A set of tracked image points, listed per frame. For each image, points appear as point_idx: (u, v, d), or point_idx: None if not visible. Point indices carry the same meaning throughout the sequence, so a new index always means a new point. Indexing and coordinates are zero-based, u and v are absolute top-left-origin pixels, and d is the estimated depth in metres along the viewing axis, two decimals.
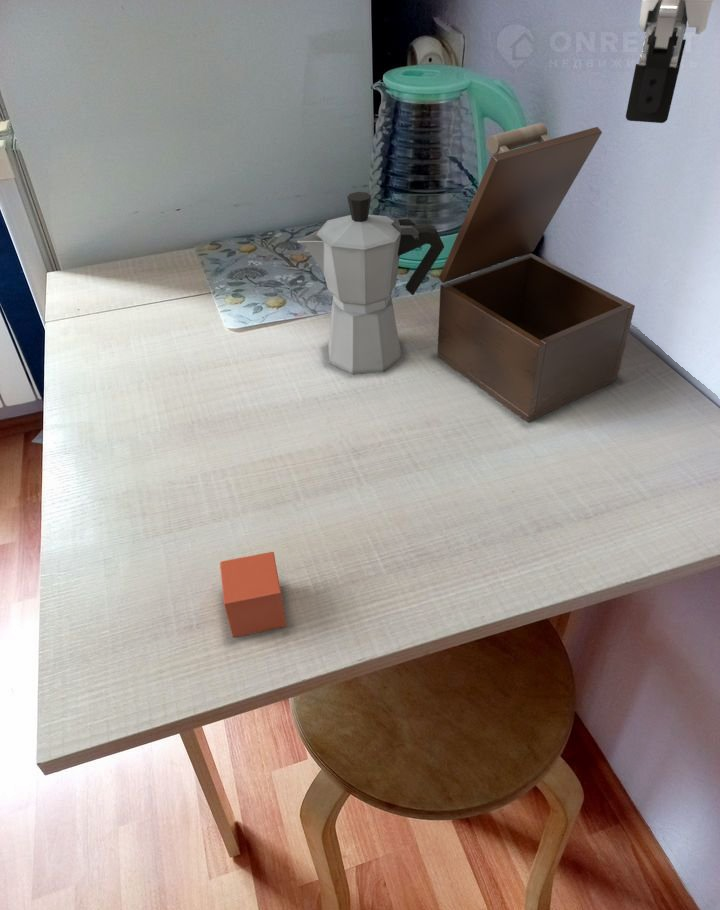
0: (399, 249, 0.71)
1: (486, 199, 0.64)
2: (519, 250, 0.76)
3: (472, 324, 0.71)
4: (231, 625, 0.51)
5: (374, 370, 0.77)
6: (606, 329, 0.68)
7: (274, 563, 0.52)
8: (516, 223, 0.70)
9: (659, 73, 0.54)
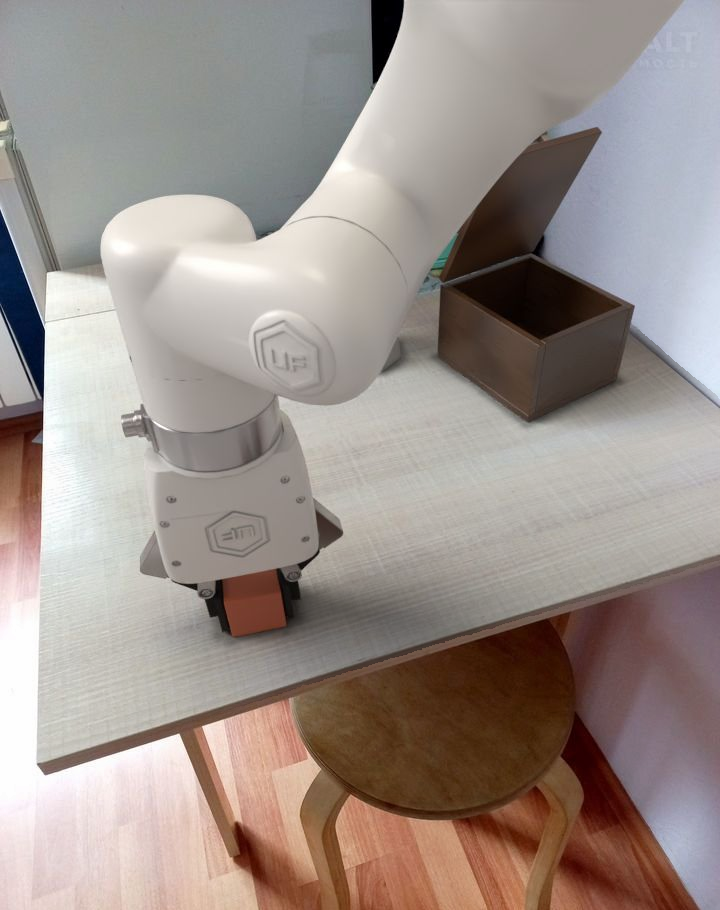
0: None
1: (486, 199, 0.64)
2: (519, 250, 0.76)
3: (472, 324, 0.71)
4: (231, 625, 0.51)
5: None
6: (606, 329, 0.68)
7: None
8: (516, 223, 0.70)
9: None
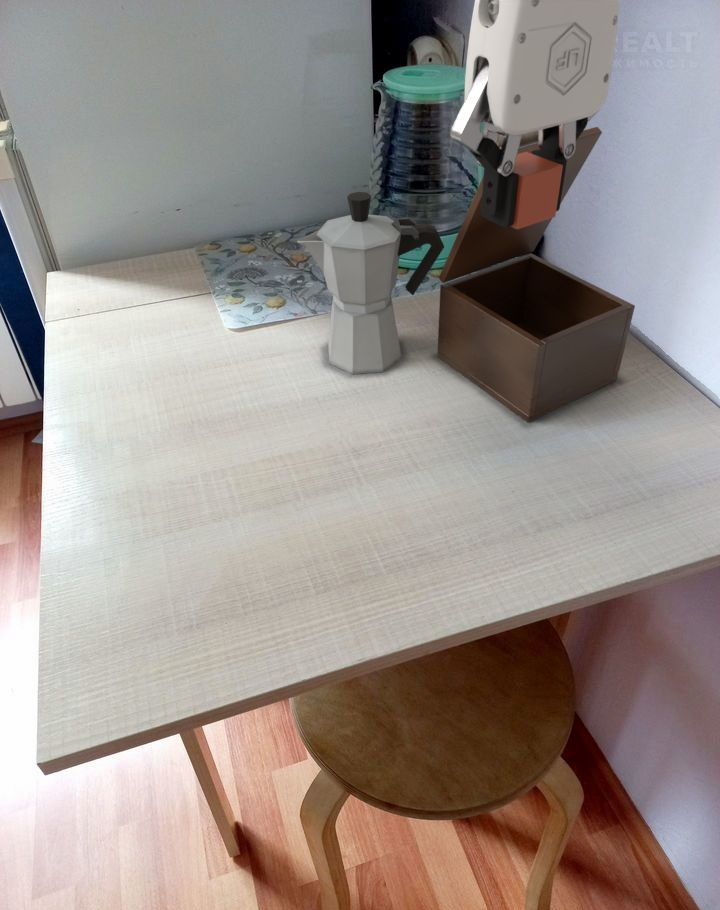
0: (399, 249, 0.71)
1: None
2: (519, 250, 0.76)
3: (472, 324, 0.71)
4: (520, 210, 0.53)
5: (374, 370, 0.77)
6: (606, 329, 0.68)
7: None
8: None
9: (493, 177, 0.52)
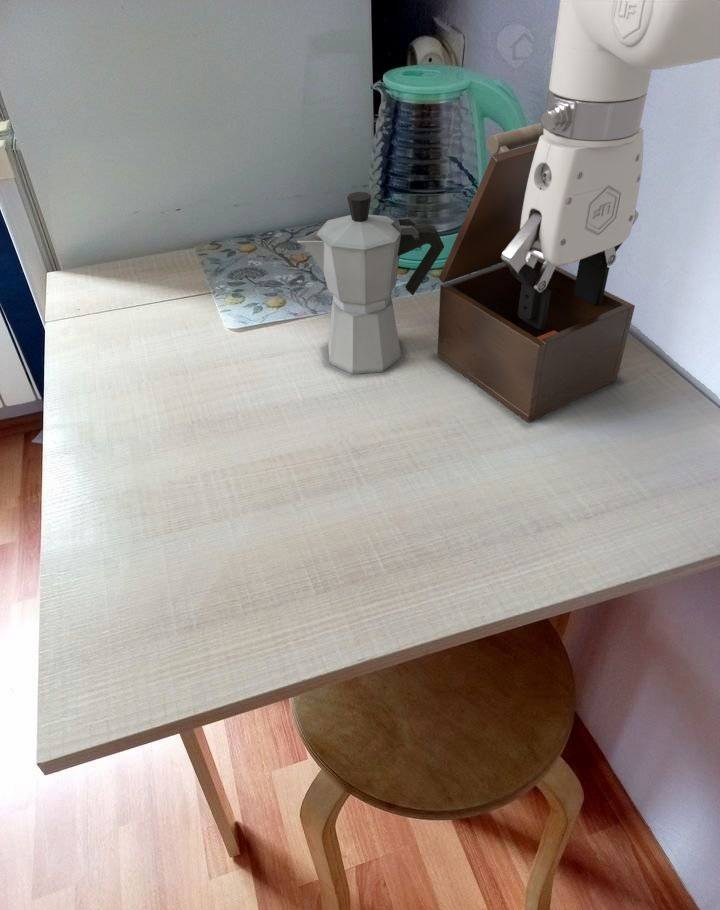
0: (399, 249, 0.71)
1: (486, 199, 0.64)
2: None
3: (472, 324, 0.71)
4: None
5: (374, 370, 0.77)
6: (606, 329, 0.68)
7: None
8: (516, 223, 0.70)
9: (530, 292, 0.64)
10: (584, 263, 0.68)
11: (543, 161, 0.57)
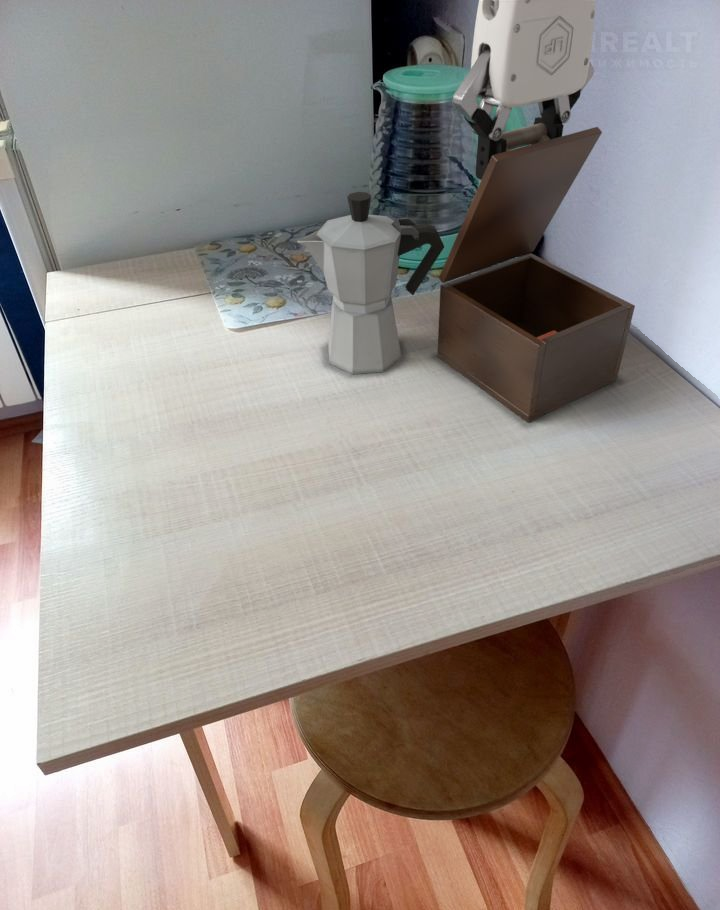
0: (399, 249, 0.71)
1: (486, 199, 0.64)
2: (519, 250, 0.76)
3: (472, 324, 0.71)
4: None
5: (374, 370, 0.77)
6: (606, 329, 0.68)
7: None
8: (516, 223, 0.70)
9: (485, 143, 0.62)
10: None
11: None
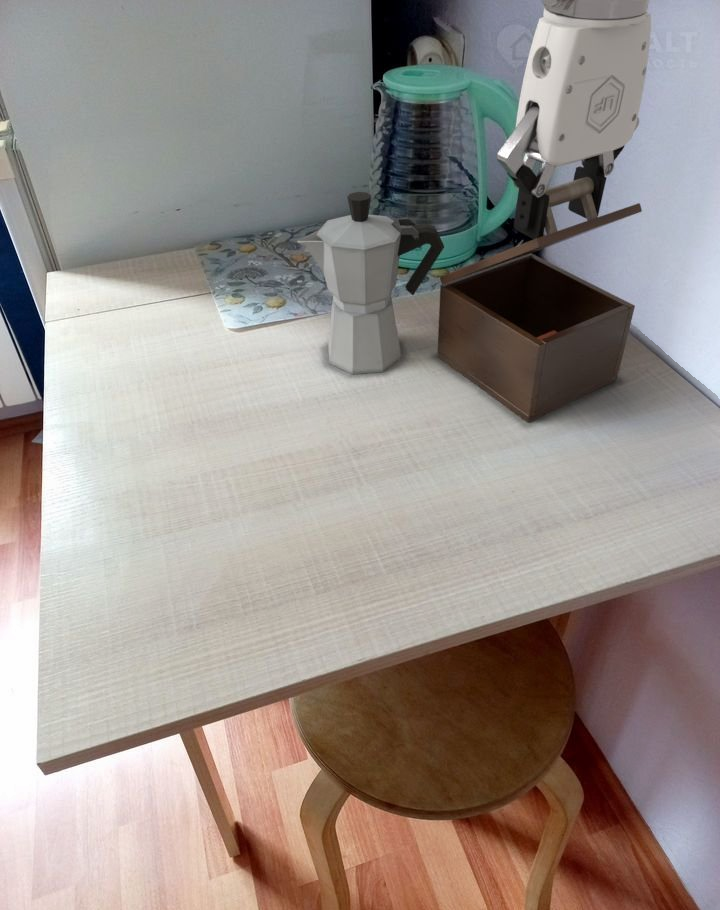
0: (399, 249, 0.71)
1: None
2: None
3: (472, 324, 0.71)
4: None
5: (374, 370, 0.77)
6: (606, 329, 0.68)
7: None
8: None
9: (527, 197, 0.61)
10: (580, 173, 0.64)
11: (542, 45, 0.53)
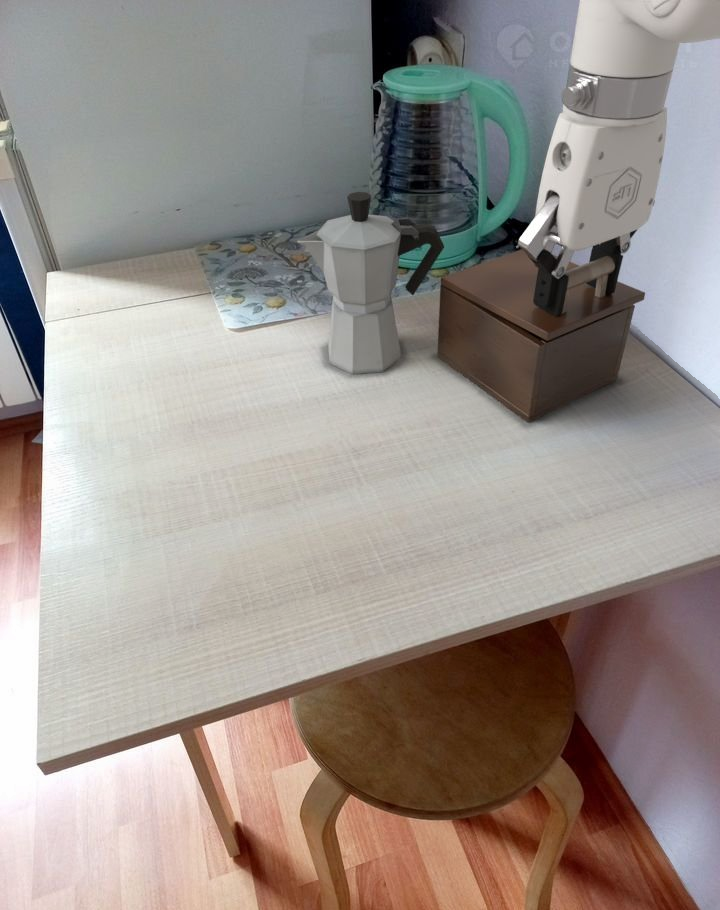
0: (399, 249, 0.71)
1: None
2: None
3: (472, 324, 0.71)
4: None
5: (374, 370, 0.77)
6: (606, 329, 0.68)
7: None
8: None
9: (547, 278, 0.62)
10: (597, 250, 0.66)
11: (562, 140, 0.55)
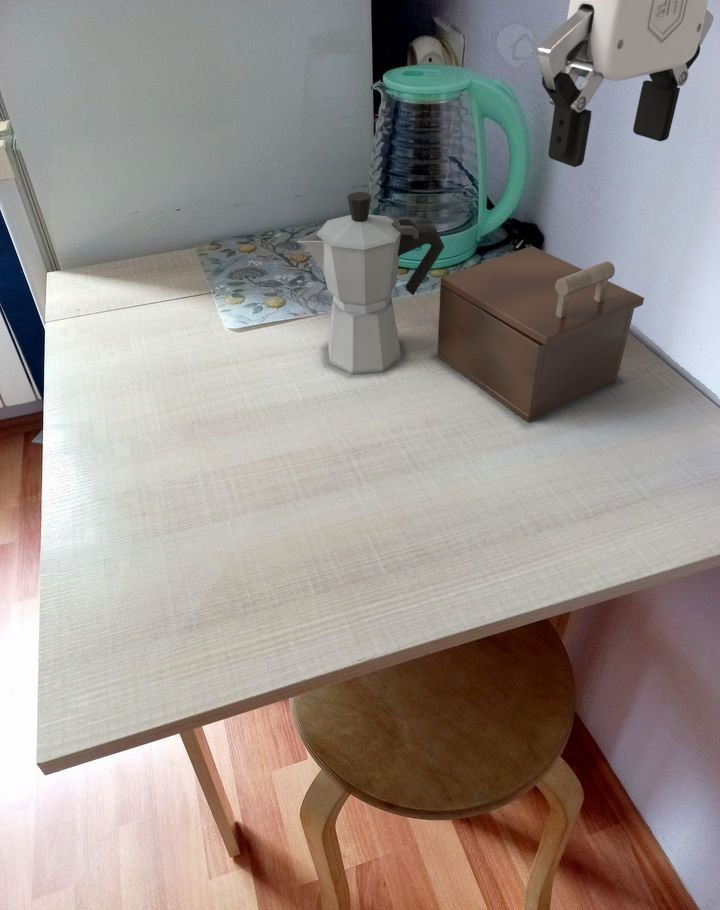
0: (399, 249, 0.71)
1: None
2: None
3: (472, 324, 0.71)
4: None
5: (374, 370, 0.77)
6: (606, 329, 0.68)
7: None
8: None
9: (565, 115, 0.52)
10: (648, 87, 0.57)
11: None
